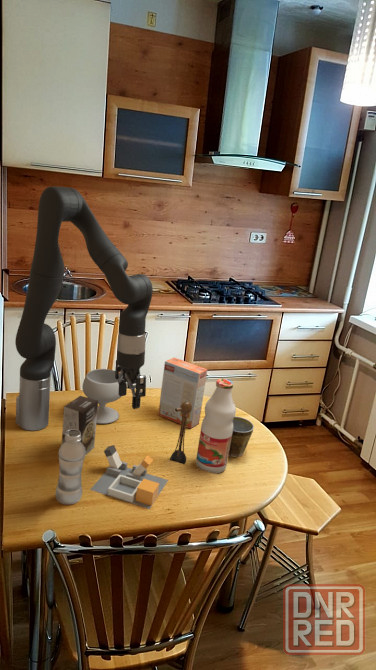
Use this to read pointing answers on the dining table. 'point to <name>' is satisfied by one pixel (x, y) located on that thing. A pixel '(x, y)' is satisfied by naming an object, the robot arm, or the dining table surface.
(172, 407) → the cracker box
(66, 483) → the plastic bottle
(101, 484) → the panel
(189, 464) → the dining table surface
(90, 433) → the coffee box
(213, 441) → the fruit juice
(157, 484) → the orange cube
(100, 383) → the chalice
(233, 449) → the ceramic cup
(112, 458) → the breaker
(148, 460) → the block
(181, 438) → the wooden tabletop sculpture
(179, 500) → the dining table surface
